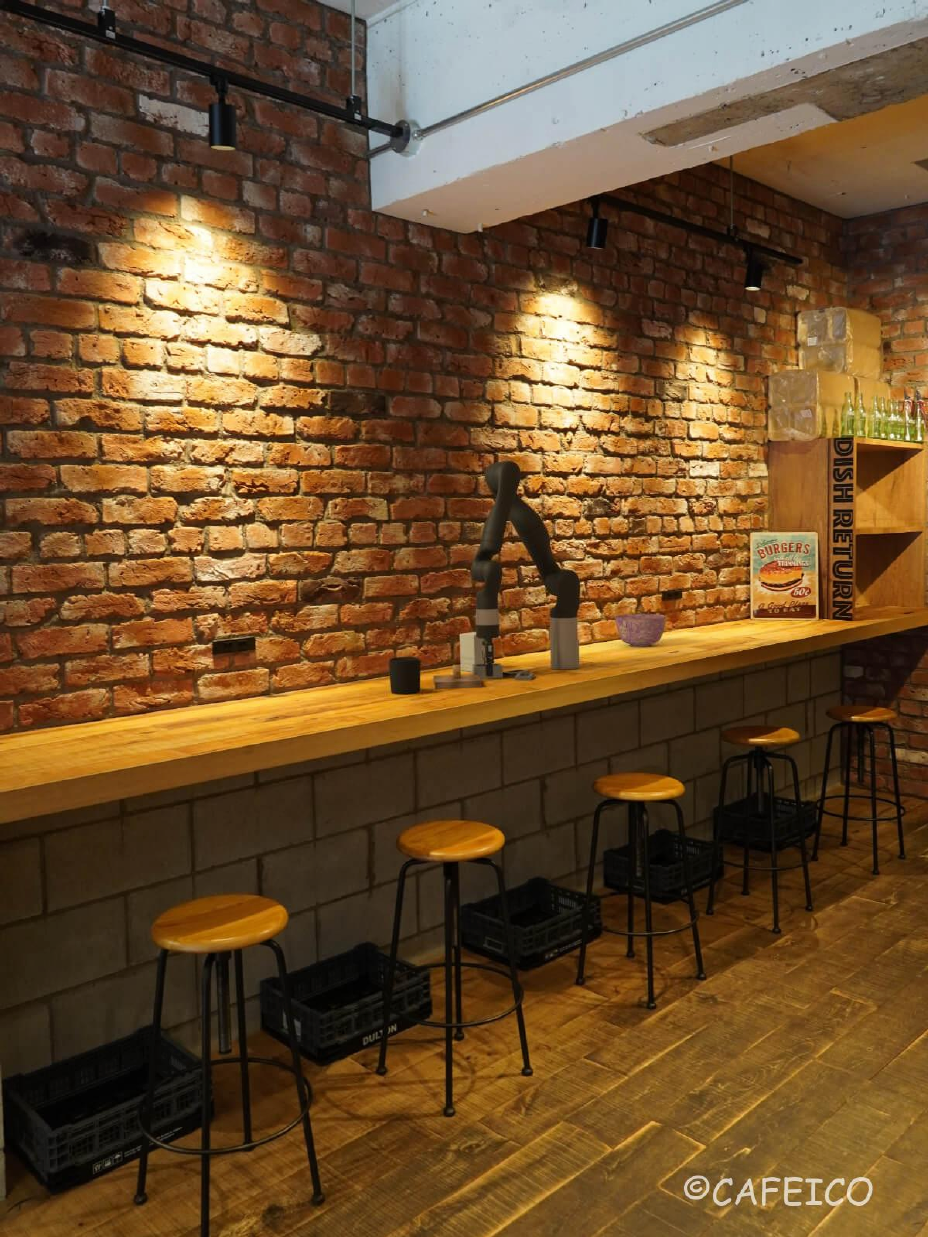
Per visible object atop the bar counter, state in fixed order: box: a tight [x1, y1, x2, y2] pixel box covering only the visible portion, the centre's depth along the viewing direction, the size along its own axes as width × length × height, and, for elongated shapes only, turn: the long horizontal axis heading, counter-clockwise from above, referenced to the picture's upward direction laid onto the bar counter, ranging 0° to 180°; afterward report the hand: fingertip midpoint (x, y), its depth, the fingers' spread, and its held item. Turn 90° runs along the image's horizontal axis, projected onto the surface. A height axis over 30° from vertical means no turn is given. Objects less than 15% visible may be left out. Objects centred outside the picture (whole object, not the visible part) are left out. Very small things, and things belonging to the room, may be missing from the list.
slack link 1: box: [503, 668, 531, 678], centre depth 339 cm, size 8×5×1 cm, turn 129°
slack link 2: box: [514, 672, 535, 681], centre depth 331 cm, size 8×5×1 cm, turn 169°
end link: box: [471, 662, 504, 680], centre depth 335 cm, size 9×6×4 cm, turn 96°
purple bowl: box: [614, 613, 667, 648], centre depth 408 cm, size 20×20×12 cm
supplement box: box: [459, 631, 484, 673], centre depth 352 cm, size 7×7×13 cm
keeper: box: [432, 664, 483, 690], centre depth 322 cm, size 14×14×6 cm
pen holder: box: [388, 656, 422, 695], centre depth 310 cm, size 9×9×10 cm
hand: (488, 674), depth 335 cm, fingers closed on end link, 6 cm apart
